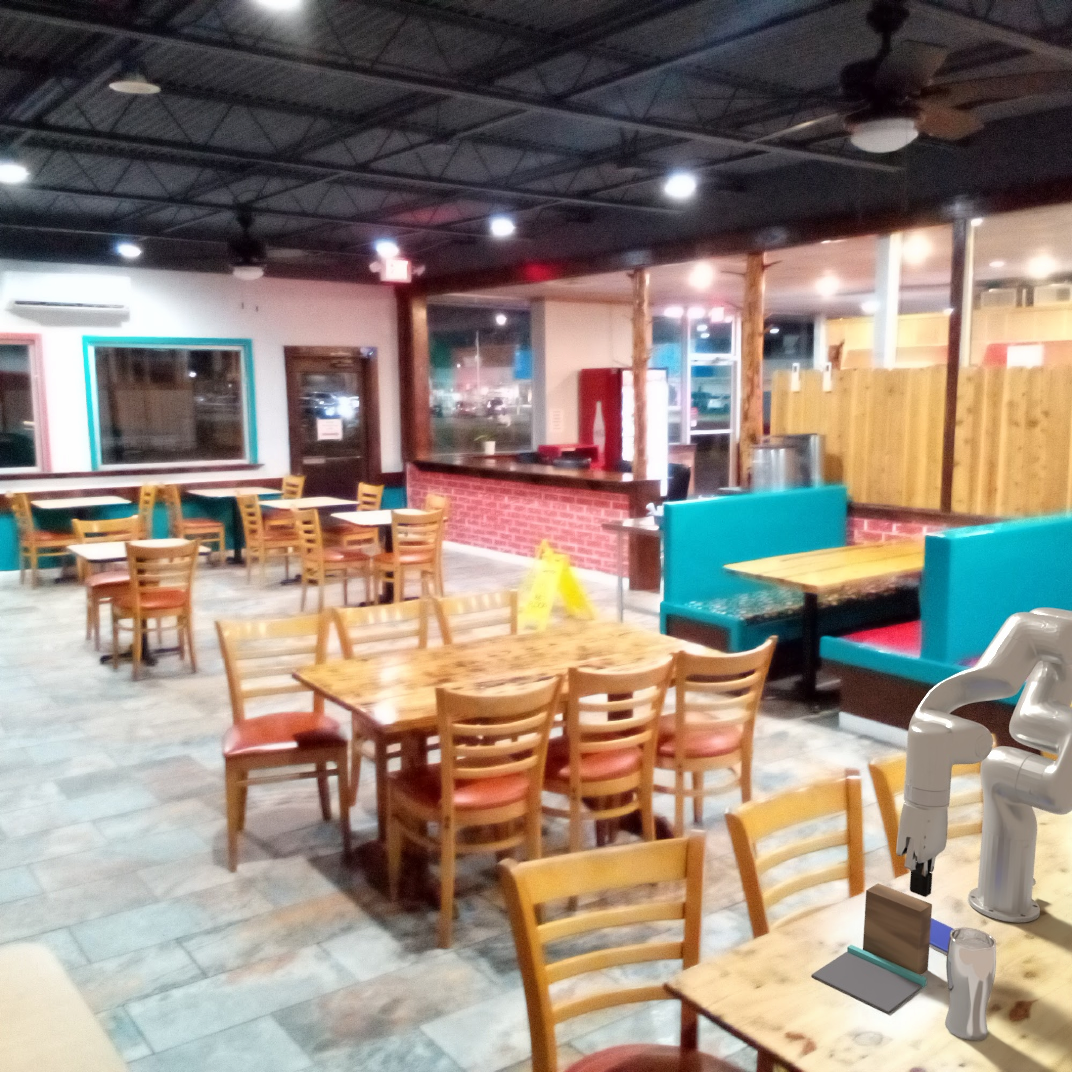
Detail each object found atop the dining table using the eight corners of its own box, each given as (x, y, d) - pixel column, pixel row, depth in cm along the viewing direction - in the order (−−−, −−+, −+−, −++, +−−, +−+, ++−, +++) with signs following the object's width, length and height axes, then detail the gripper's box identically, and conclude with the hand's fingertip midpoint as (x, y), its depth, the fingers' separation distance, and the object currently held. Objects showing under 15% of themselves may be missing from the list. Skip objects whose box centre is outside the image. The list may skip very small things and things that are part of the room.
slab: (874, 947, 180) (878, 883, 179) (927, 970, 173) (932, 904, 171) (862, 954, 178) (866, 890, 176) (916, 978, 170) (920, 911, 169)
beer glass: (967, 1047, 152) (973, 953, 150) (932, 1021, 158) (938, 931, 156) (1000, 1036, 155) (1008, 944, 153) (965, 1011, 161) (971, 923, 159)
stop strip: (850, 950, 179) (851, 944, 179) (926, 984, 168) (926, 978, 168) (847, 953, 178) (847, 946, 178) (922, 987, 168) (923, 980, 168)
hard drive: (904, 928, 185) (966, 959, 175) (931, 916, 189) (992, 945, 179) (903, 936, 185) (965, 968, 175) (930, 924, 190) (992, 954, 179)
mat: (846, 953, 178) (846, 951, 178) (921, 988, 167) (922, 985, 167) (811, 976, 170) (811, 974, 170) (888, 1013, 160) (888, 1011, 160)
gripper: (926, 778, 185) (920, 873, 187) (885, 798, 175) (879, 898, 177) (967, 789, 179) (960, 887, 182) (926, 811, 169) (919, 914, 172)
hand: (920, 892), depth 179 cm, fingers closed
